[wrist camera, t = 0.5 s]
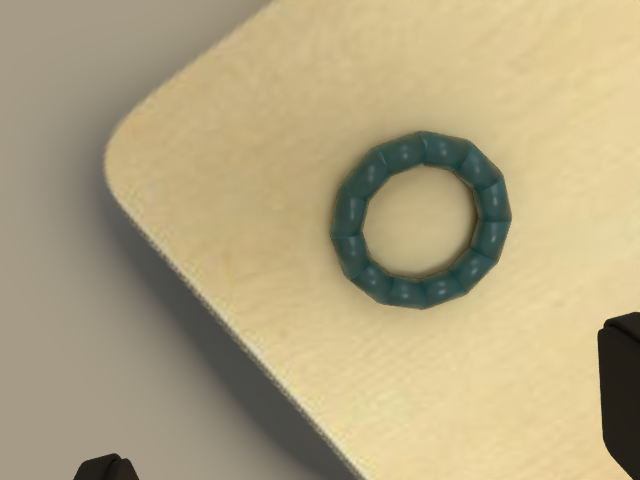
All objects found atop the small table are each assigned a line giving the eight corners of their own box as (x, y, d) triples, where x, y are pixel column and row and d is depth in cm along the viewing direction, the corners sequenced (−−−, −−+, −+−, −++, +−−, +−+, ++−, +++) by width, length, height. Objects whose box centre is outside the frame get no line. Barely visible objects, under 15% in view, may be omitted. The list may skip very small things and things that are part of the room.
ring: (294, 232, 22) (295, 242, 20) (416, 92, 20) (426, 93, 19) (417, 329, 24) (426, 344, 23) (534, 209, 23) (551, 217, 21)
